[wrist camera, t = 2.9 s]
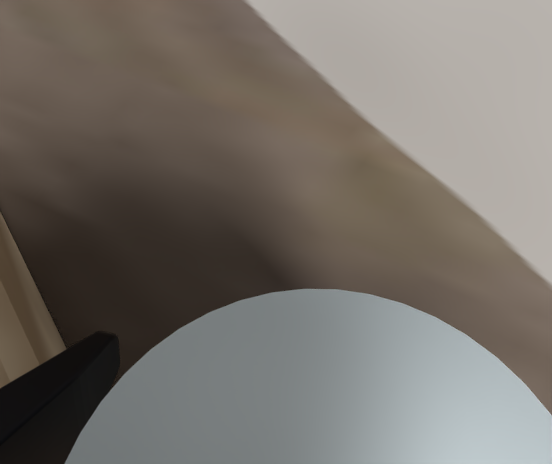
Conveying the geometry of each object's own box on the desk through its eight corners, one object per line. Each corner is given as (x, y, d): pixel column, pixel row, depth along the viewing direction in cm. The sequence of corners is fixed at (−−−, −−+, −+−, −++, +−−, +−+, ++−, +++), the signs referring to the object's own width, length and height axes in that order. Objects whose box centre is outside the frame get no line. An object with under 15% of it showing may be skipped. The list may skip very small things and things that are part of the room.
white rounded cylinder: (278, 541, 15) (217, 1206, 3) (196, 392, 16) (-58, 478, 4) (412, 445, 15) (773, 709, 4) (323, 309, 17) (386, 197, 5)
